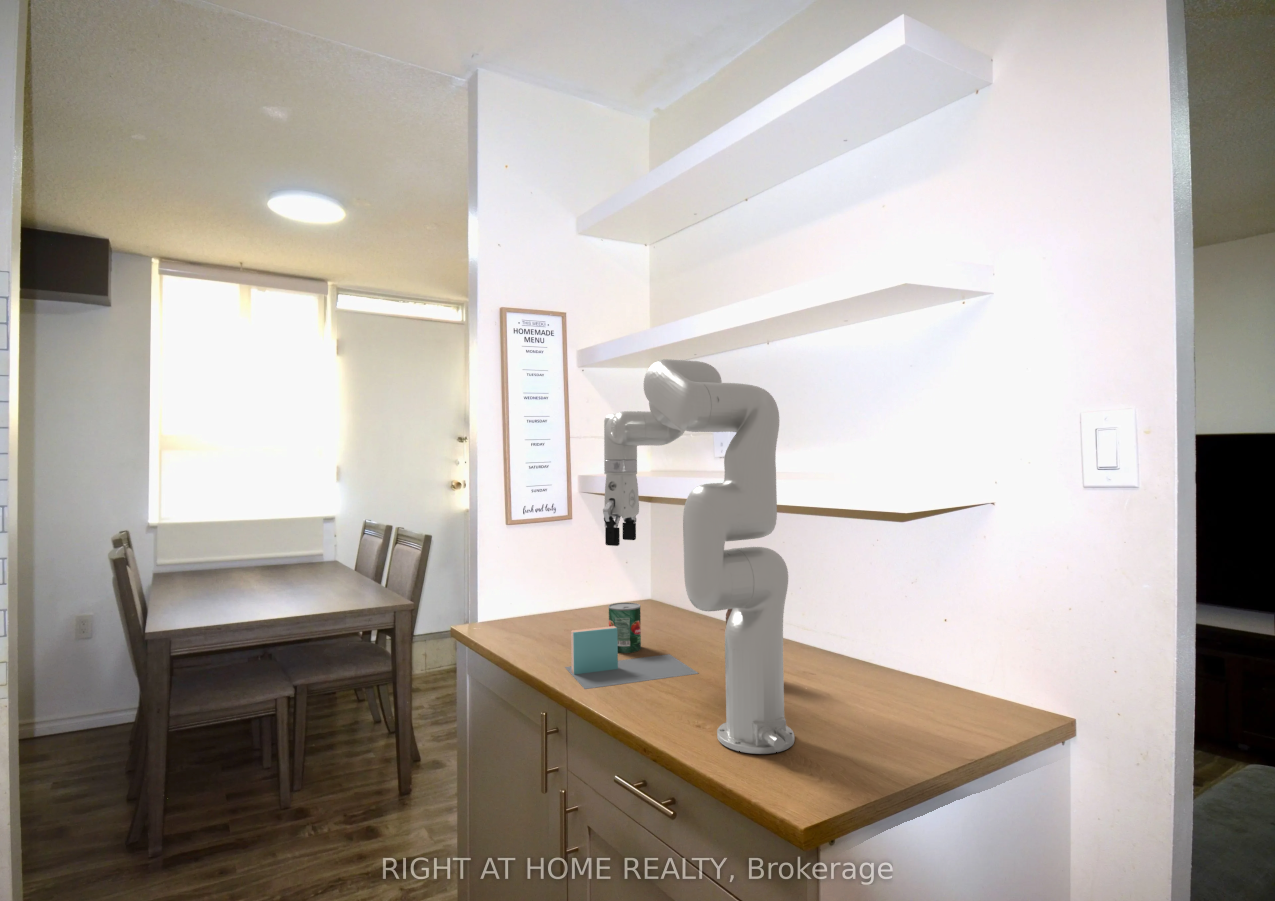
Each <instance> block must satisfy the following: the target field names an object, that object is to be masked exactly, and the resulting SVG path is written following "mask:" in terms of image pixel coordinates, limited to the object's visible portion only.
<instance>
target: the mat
mask: <svg viewBox="0 0 1275 901" xmlns="http://www.w3.org/2000/svg"><path fill="white" fill-rule="evenodd" d="M564 668H565V669H566V670H567V671H568V673H570V675H571V676H572V677H573V678H574V679H575V680H576V681H577V683H578V684H579V685H580V686H581V687H582V688H583V689H584V690H589V689H596V688H603V687H605V688H606V687H609V686H610V687H611V686H617V685H625V684H633V683H640V682H647V681H655V680H663V679H669V678H677V677H683V676H690V675H691V676H692V675H698V674H700V673H699V672H698V671H696V670H694V669H693V668H692V667H690V666H689V665H687V664H685V663H683V662H682V661H680V660H679V659H677V658H676V657H675V656H673V655H671V654H670V653H668V654H661V655H652V656H644V657H635V658H628V659H618V669H613V670H605V671H598V672H590V673H582V674H573V673H572V665H571V666H564Z"/></svg>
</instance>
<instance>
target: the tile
mask: <svg viewBox="0 0 1275 901" xmlns="http://www.w3.org/2000/svg"><path fill="white" fill-rule="evenodd" d="M570 642H571V643H570V647H571V649H570V651H571V653H570V654H571V655H570V656H571V666H572V673H573V674H582V673H590V672H598V671H605V670H613V669H618V661H619V655H618V654H619V653H618V642H617V627H615V626H610V627H609V626H602V627H593V628H591V627H590V628H583V629H574V630H571V631H570Z"/></svg>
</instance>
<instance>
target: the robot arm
mask: <svg viewBox="0 0 1275 901" xmlns="http://www.w3.org/2000/svg"><path fill="white" fill-rule="evenodd" d="M643 392H644V395H645V398H646V400H647V401H648V406H649V411H638V410H637V411H632V410H631V411H630V410H629V411H628V410H627V411H620V412H617V413H610V414H607V415H606V416H605V417H604V421H603V423H604V424H603V429H604V430H603V435H604V436H603V444H604V445H603V447H604V449H603V451H604V452H603V455H604V457H603V462H604V467H603V468H604V469H603V470H604V471H603V473H604V475H606V476H605V483H604V484H605V485H604V486H605V487H604V507H603V509H602V514H603V521H604V528H605V530H604V531H605V535H604V536H605V537H604V538H605V545H606V546H612V547H613V546H614V547H618V546H620V541H621V539H620V537H621V536H620V534H621V533H620V527H618V526H619V524H620V520H621V518H622V519H623V520H622V521H623V522H622V540H624V541H635V540H636V539H637V517H636V516H638V514H639V513H640V501H639V500H640V499H639V498H640V497H639V486H638V485H639V484H638V477H637V474H638V446H640V447H641V446H658V447H659V446H665V445H669V444H670V443H672V442H674V441H676V440H678V439H679V438H681V436H683V434H685V432H691V433H724V432H725V433H726V432H727V433H729V432H730V433H735V434H734V435H733V437H732V439H731V441H730V442H729V444H728V446H727V448H726V450H725V454H724V458H723V459H724V460H723V465H724V466H723V467H724V475H723V476H724V478H723V482H716V483H715V482H712V483H711V482H710V483H704V484H700V485H698V486H696V487H695V488H693V489H692V490H691V491H690V492H689V494H688V495H687V498H686V500H685V504H684V506H683V511H682V512H683V513H682V534H683V537H682V538H683V540H682V541H683V573H684V585H685V586H684V587H685V592H686V595H687V598H688V599H689V602H690V603H691V605H693V606H694V608H696V609H698V611H702V612H718V611H725V610H728V609H732V612H731V614H730V616H729V619H728V621H727V625H726V624H725V631H724V659H725V662H724V663H725V665H724V666H725V667H724V669H725V705H726V706H725V718H726V721H725V722H723V723H722V724H720V725H719V726H718V728H717V730H716V736H717V737H716V738H717V739H718V741H719V742H720V744H722V746H724V747H726V748H727V749H730V750H733V751H736V752H739V751H740V752H741V753H745V754H751V755H752V754H754V755H769V754H776V752H777V753H781V752H784V751H786V750H788V749H790V748H791V747H793V745H794V743H795V732H794V731H793V729H791V727H789V726H788V725H787V719H786V718H785V689H784V688H785V686H784V683H785V680H784V613H785V604H786V598H787V594H788V587H789V570H788V566H787V563H786V561H785V560H784V558H783V557H782V555H780V554H779V553H778V552H777V551H775V550H773V549H771V548H768V547H763V546H747V547H735V548H730V549H729V548H728V549H725V543H726V542H736V541H745V540H755V539H761V538H765V537H767V536H769V535H770V534H772V532H774V530H775V529H776V525H777V520H778V519H777V518H778V516H777V515H778V508H777V507H778V502H777V501H778V499H777V498H778V497H777V496H778V495H777V466H776V464H777V463H776V458H777V457H776V453H777V445H778V444H777V442H778V437H779V432H780V411H779V407H778V405H777V404H778V403H777V401H776V400H775V398H774V396H772V394H771V393H770V392H769V391H768V390H766V389H764V388H762V387H760V386H757V385H752V384H748V383H747V384H746V383H735V382H723V381H722V377H721V374H720V373H719V371H718V370H717V369H716V367H714V366H712V365H711V364H709V363H707V362H703V361H698V360H687V359H686V360H683V359H667V358H666V359H665V358H664V359H660V360H659V359H658V360H657V361H655V362H653V363H652V364H651V365H650V366H649V367H648V369H647V370H646V373H645V375H644V378H643Z"/></svg>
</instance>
